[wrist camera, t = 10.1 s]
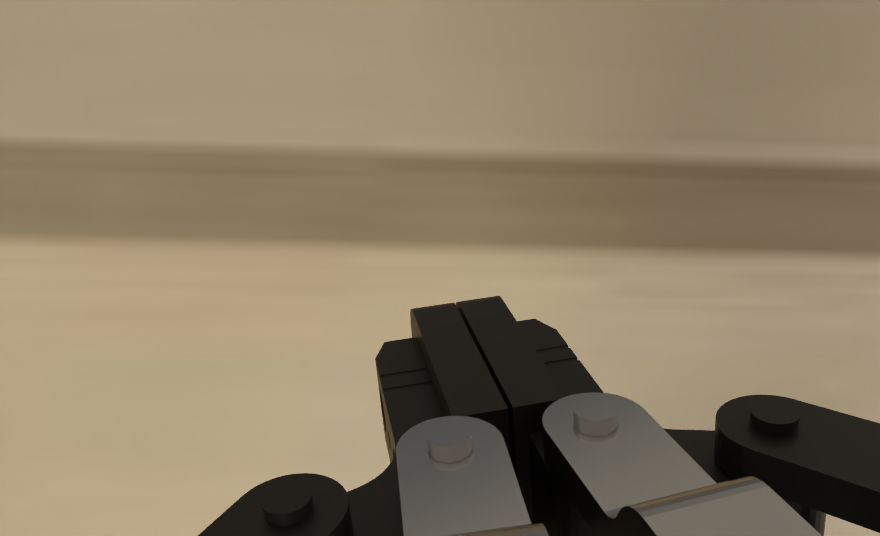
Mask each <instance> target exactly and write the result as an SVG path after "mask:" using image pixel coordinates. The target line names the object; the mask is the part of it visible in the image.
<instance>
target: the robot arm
mask: <svg viewBox="0 0 880 536" xmlns="http://www.w3.org/2000/svg"><path fill="white" fill-rule="evenodd" d="M410 316H411V329H412V338H409V339H402V340H396V341H389V342H385V343H384V344H383V346H382V348H381V350H380V351H379V353H378V355H377V357H376V358H375V360H376V368H377V376H378V384H379V392H380V400H381V408H382V416H383V424H384V432H385V439H386V444H387V448H388V453H389V457H390V462H391V463H390V465H389V466H388V467H387V468H386V470H385V471H384V472H383V473H381V474H380V475H379V476H378V477H376V478H375V479H373V480H372V481H370V482H368V483H367V484H365V485H363V486H360V487H358V488H356V489H354V490H351V491H349V492H346V490H345V489H344V488H343V486H342V485H341V484H339V483H338V482H337V481H335V480H333V479H331V478H329V477H326V476H323V475H318V474H308V473H303V474H291V475H285V476H281V477H277V478H274V479H271V480H269V481H266V482H264V483H262V484H260V485H258V486H256V487H254V488H253V489H251V490H250V491H248V492H247V493H246V494H244V495H243V496H242V497H241V498H240V499H239V500H238V501H236V502H235V503H234V504H233V505H232V506H231V507H230V508H229V509H227V510H226V511H225V512H224V513H223V514H222V515H221V516H220V517H218V518H217V519H216V520H215V521H214V522H213V523H212V524H211V525H209V526H208V527H207V528H206V529H205V530H204V531H203V532H202V533H200V534H199V535H198V536H824V527H825V518H826V514H829V515H832V516H835V517H837V518H840V519H843V520H846V521H848V522H851V523H854V524H857V525H859V526H862V527H865V528H868V529H871V530H873V531H876V532H879V533H880V424H879V423H876V422H872V421H869V420H865V419H862V418H858V417H855V416H851V415H847V414H844V413H840V412H837V411H833V410H830V409H826V408H823V407H819V406H816V405H812V404H808V403H805V402H801V401H798V400H794V399H790V398H786V397H780V396H773V395H750V396H744V397H739V398H736V399H733V400H730V401H728V402H727V403H725V404H724V405H722V406H721V407H720V408H719V410H718V411H717V414H716V422H715V431H705V430H672V429H663V428H662V427H661V426H660V425H659V424H658V423H657V422H656V421H655V420H654V419H653V418H652V417H651V416H650V415H649V414H648V413H647V412H646V411H645V410H644V409H643V408H642V407H641V406H640V405H639V404H637V403H635V402H634V401H632V400H629V399H627V398H624V397H621V396H618V395H613V394H608V393H603V391H602V390H601V389H600V387H599V386H598V385H597V383H596V382H595V381H594V379H593V378H592V377H591V375H590V374H589V373H588V371H587V370H586V369H585V367H584V366H583V365H582V363H581V362H580V361H579V360H577V357H576V355H575V354H574V353H573V351H572V350H571V349H570V348H568V345H567V343H566V342H565V341H564V339H563V338H562V337H561V335H560V334H559V333H558V331H557V330H556V329H554V328H552V327H550V326H548V325H546V324H544V323H542V322H540V321H538V320H536V319H530V320H524V321H516V320H515V318H514V317H513V315H512V314H511V312H510V310H509V309H508V307H507V306H506V304H505V303H504V301H503V300H502V298H501V297H500V296H494V297H488V298H481V299H474V300H468V301H461V302H456V305H455V303H449V304H442V305H435V306H429V307H422V308H415V309H411V312H410Z"/></svg>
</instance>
